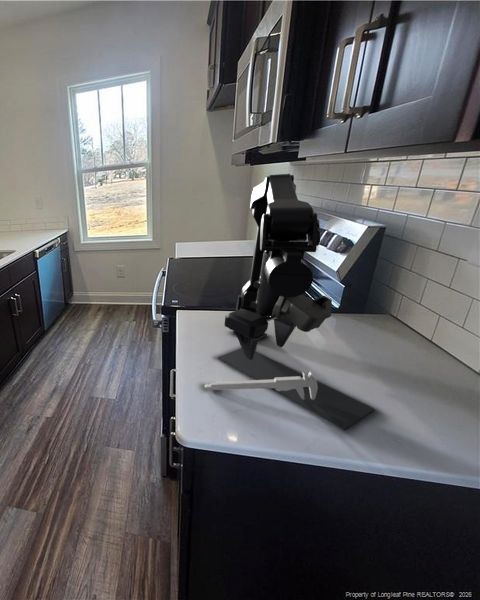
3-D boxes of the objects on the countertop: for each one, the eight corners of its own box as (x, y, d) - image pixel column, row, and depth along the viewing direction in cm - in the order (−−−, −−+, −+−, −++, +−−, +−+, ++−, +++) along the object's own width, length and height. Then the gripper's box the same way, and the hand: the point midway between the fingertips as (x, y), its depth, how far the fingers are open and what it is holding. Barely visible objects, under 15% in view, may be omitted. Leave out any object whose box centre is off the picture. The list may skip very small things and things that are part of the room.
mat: (244, 347, 84) (245, 346, 84) (374, 410, 60) (375, 408, 60) (217, 358, 80) (217, 357, 80) (344, 430, 56) (345, 428, 56)
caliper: (312, 397, 64) (318, 371, 61) (314, 401, 63) (320, 374, 60) (204, 386, 70) (206, 362, 68) (204, 389, 69) (206, 365, 67)
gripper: (289, 302, 47) (272, 389, 53) (358, 279, 54) (337, 357, 60) (226, 283, 56) (218, 358, 62) (293, 265, 64) (280, 334, 69)
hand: (264, 352), depth 63 cm, fingers open, 9 cm apart
